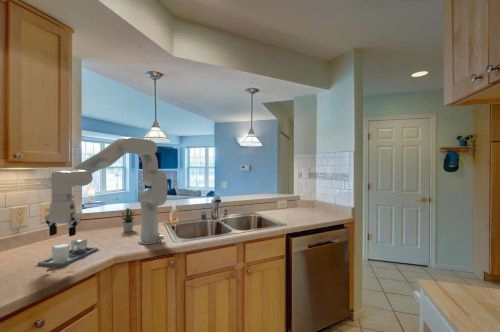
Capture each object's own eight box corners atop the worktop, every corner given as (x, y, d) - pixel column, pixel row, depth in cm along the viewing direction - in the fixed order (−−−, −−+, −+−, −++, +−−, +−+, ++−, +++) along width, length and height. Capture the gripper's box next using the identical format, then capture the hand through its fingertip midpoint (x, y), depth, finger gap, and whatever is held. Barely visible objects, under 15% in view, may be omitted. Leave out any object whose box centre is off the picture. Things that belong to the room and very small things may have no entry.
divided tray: (101, 251, 132) (101, 247, 132) (61, 271, 108) (61, 265, 108) (77, 250, 133) (77, 246, 133) (33, 269, 110) (33, 263, 110)
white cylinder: (58, 258, 119) (58, 243, 119) (73, 258, 119) (73, 243, 119) (47, 263, 112) (47, 247, 112) (63, 263, 112) (63, 247, 112)
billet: (90, 251, 129) (90, 238, 129) (79, 256, 122) (80, 242, 122) (78, 250, 130) (78, 238, 129) (67, 255, 123) (67, 242, 123)
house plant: (113, 229, 176) (113, 206, 176) (134, 227, 185) (135, 204, 185) (117, 234, 165) (117, 209, 165) (140, 231, 173) (140, 207, 173)
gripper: (85, 197, 118) (86, 233, 119) (52, 196, 120) (53, 232, 121) (72, 199, 111) (73, 238, 111) (37, 198, 113) (38, 237, 113)
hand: (62, 235), depth 116 cm, fingers open, 9 cm apart
